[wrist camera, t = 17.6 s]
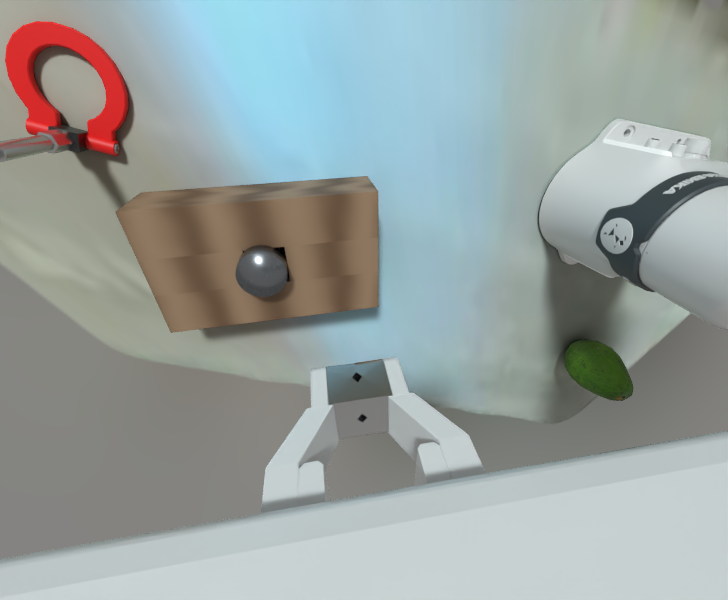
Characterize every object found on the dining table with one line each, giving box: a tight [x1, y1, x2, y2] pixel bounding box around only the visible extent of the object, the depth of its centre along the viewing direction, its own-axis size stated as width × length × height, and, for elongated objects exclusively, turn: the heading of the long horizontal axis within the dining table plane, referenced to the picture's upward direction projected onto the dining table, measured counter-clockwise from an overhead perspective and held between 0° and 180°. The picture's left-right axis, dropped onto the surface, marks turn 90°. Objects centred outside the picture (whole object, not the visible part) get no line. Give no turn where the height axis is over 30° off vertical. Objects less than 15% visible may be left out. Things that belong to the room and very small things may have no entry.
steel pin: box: [235, 245, 288, 297], centre depth 37 cm, size 5×5×8 cm
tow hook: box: [0, 21, 129, 162], centre depth 24 cm, size 8×13×9 cm
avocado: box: [564, 339, 633, 401], centre depth 56 cm, size 8×8×12 cm
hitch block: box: [116, 176, 378, 333], centre depth 38 cm, size 24×14×6 cm, turn 92°
